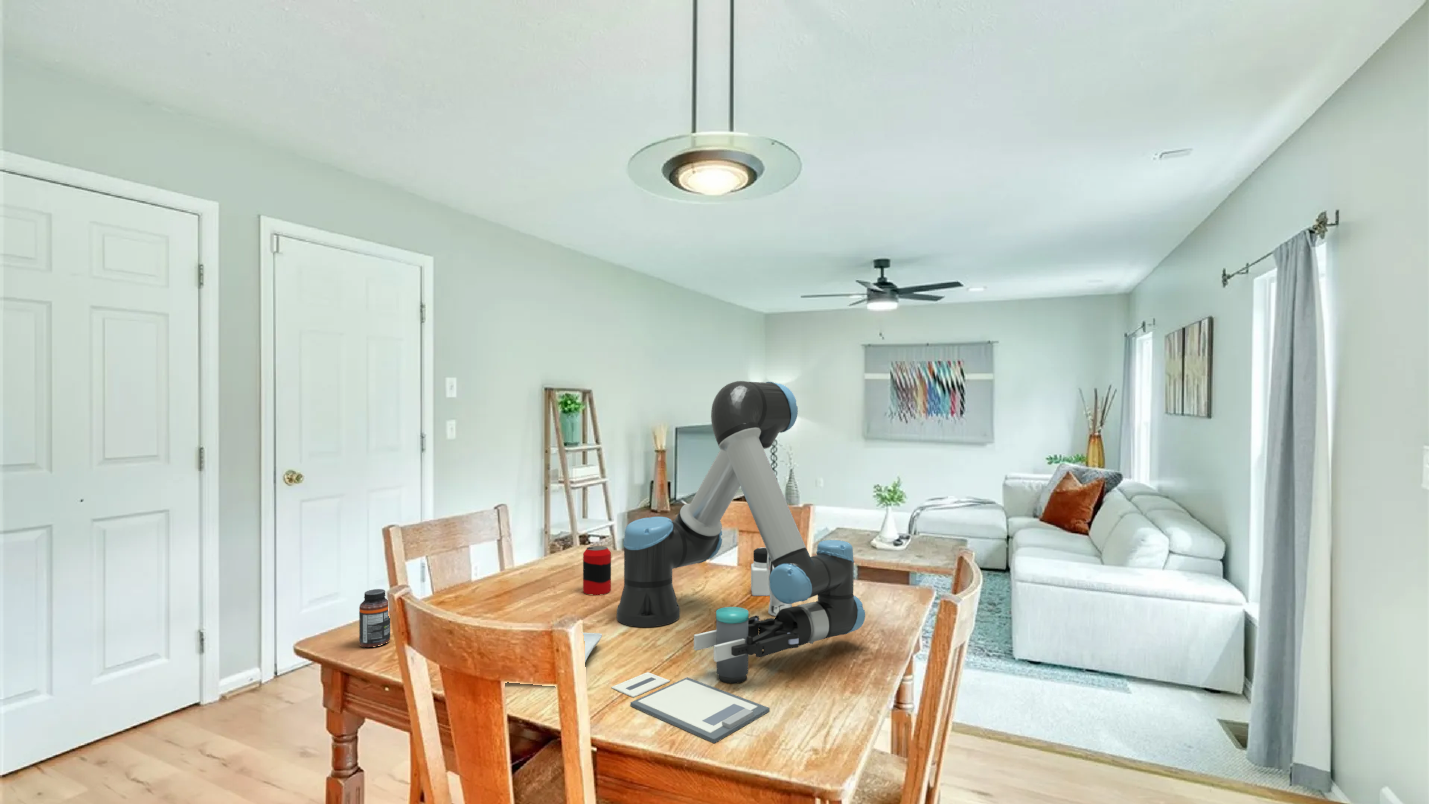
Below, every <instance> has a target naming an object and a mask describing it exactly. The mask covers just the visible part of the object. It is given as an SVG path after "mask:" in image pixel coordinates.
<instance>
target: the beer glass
mask: <svg viewBox="0 0 1429 804" xmlns="http://www.w3.org/2000/svg"><path fill="white" fill-rule="evenodd" d="M773 569H774V566H773V564H772V561H771V559H770V556H769V554H768V552H767V581H768V587H769V593H770V596H769V605H768V609H767V610H768V611H767V612H768V614H769V616H773V617H776V615H777V613H778V612H779V611H780V610H781V609H784V608H789V607H793V605H792V604H793V603H791V604H786V603H782V602H780V601H779V600H778V599H776V598H775V596H774V595H773V594H772V592H771V589H770V580H769V578H770V574H771V572H772V570H773Z"/></svg>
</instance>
